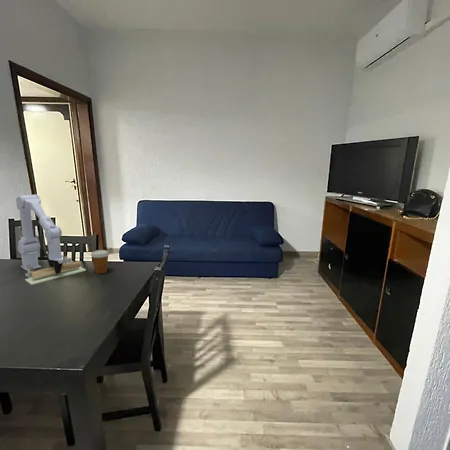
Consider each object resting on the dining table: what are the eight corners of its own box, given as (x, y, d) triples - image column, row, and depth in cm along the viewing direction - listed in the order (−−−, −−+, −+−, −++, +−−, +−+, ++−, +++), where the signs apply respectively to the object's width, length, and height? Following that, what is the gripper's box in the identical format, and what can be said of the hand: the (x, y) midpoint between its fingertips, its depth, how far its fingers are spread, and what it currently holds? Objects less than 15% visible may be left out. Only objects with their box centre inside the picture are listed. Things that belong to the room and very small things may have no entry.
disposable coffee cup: (105, 275, 162) (104, 254, 159) (89, 274, 162) (87, 254, 159) (112, 269, 171) (111, 250, 168) (96, 268, 171) (95, 249, 169)
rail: (31, 277, 151) (30, 272, 150) (77, 265, 169) (77, 261, 168) (33, 278, 149) (32, 273, 148) (79, 267, 167) (79, 262, 167)
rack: (25, 274, 158) (23, 265, 157) (68, 264, 176) (67, 255, 175) (29, 278, 154) (28, 268, 153) (73, 267, 172) (72, 258, 171)
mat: (25, 280, 151) (25, 279, 151) (78, 266, 173) (78, 266, 173) (31, 285, 146) (31, 284, 146) (85, 270, 167) (85, 269, 167)
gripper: (68, 250, 155) (70, 273, 158) (56, 245, 164) (59, 267, 166) (54, 253, 149) (56, 277, 152) (43, 247, 158) (45, 270, 161)
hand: (56, 272), depth 159 cm, fingers closed on rail, 3 cm apart
